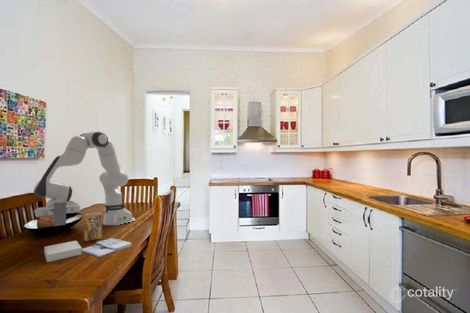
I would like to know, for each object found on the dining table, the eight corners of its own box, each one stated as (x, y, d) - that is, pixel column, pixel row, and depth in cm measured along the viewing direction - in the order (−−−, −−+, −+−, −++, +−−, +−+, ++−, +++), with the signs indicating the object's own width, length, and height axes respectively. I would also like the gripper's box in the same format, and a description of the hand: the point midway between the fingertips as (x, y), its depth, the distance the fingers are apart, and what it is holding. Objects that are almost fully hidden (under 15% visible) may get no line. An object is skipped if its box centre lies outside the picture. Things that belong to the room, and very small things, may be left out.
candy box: (101, 236, 151) (101, 212, 151) (101, 238, 147) (101, 213, 147) (84, 239, 147) (85, 214, 147) (84, 241, 143) (84, 215, 143)
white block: (76, 246, 134) (76, 240, 134) (81, 254, 124) (81, 247, 124) (44, 253, 125) (44, 246, 125) (47, 262, 115) (47, 255, 115)
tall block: (64, 222, 134) (64, 200, 134) (65, 224, 130) (66, 202, 130) (53, 224, 131) (53, 201, 131) (54, 226, 127) (54, 203, 127)
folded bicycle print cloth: (132, 246, 138) (132, 242, 138) (97, 259, 120) (97, 254, 120) (112, 240, 147) (112, 236, 147) (77, 251, 130) (77, 247, 130)
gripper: (33, 204, 133) (35, 209, 123) (77, 200, 147) (81, 204, 137) (33, 216, 133) (34, 221, 123) (77, 211, 147) (81, 215, 136)
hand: (60, 212), depth 130 cm, fingers closed on tall block, 5 cm apart
